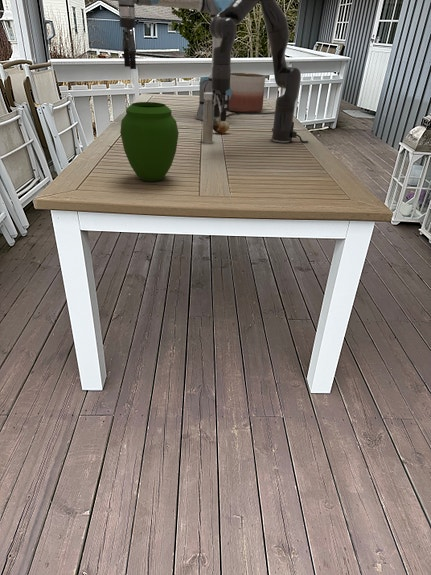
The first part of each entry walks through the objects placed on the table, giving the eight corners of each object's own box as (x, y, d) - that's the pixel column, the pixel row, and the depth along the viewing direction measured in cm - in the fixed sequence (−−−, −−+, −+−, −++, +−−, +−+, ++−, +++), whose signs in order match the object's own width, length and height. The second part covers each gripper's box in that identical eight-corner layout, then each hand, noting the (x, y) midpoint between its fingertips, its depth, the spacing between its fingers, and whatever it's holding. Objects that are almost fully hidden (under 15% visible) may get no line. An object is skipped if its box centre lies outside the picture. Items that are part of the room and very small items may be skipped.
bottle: (209, 140, 201) (211, 93, 189) (214, 143, 197) (216, 94, 186) (200, 141, 198) (201, 93, 187) (205, 143, 195) (206, 94, 184)
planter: (266, 114, 273) (270, 77, 261) (229, 113, 269) (231, 75, 257) (257, 107, 294) (260, 73, 283) (222, 107, 290) (224, 72, 278)
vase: (131, 189, 135) (125, 110, 122) (118, 172, 150) (112, 100, 137) (186, 184, 142) (187, 109, 129) (169, 168, 157) (167, 99, 144)
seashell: (228, 132, 219) (229, 116, 215) (229, 134, 214) (230, 118, 210) (210, 131, 218) (211, 115, 213) (211, 134, 213) (212, 117, 209)
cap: (210, 98, 190) (210, 92, 189) (215, 99, 187) (215, 93, 186) (201, 98, 188) (202, 92, 187) (206, 100, 185) (206, 93, 183)
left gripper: (114, 17, 205) (118, 65, 216) (124, 17, 186) (128, 69, 197) (129, 18, 208) (132, 65, 219) (141, 18, 188) (143, 70, 200)
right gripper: (236, 79, 160) (233, 122, 169) (223, 73, 171) (222, 114, 180) (218, 79, 158) (216, 123, 167) (206, 73, 169) (206, 115, 178)
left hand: (130, 67), depth 208 cm, fingers open, 13 cm apart
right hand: (219, 118), depth 174 cm, fingers open, 8 cm apart
